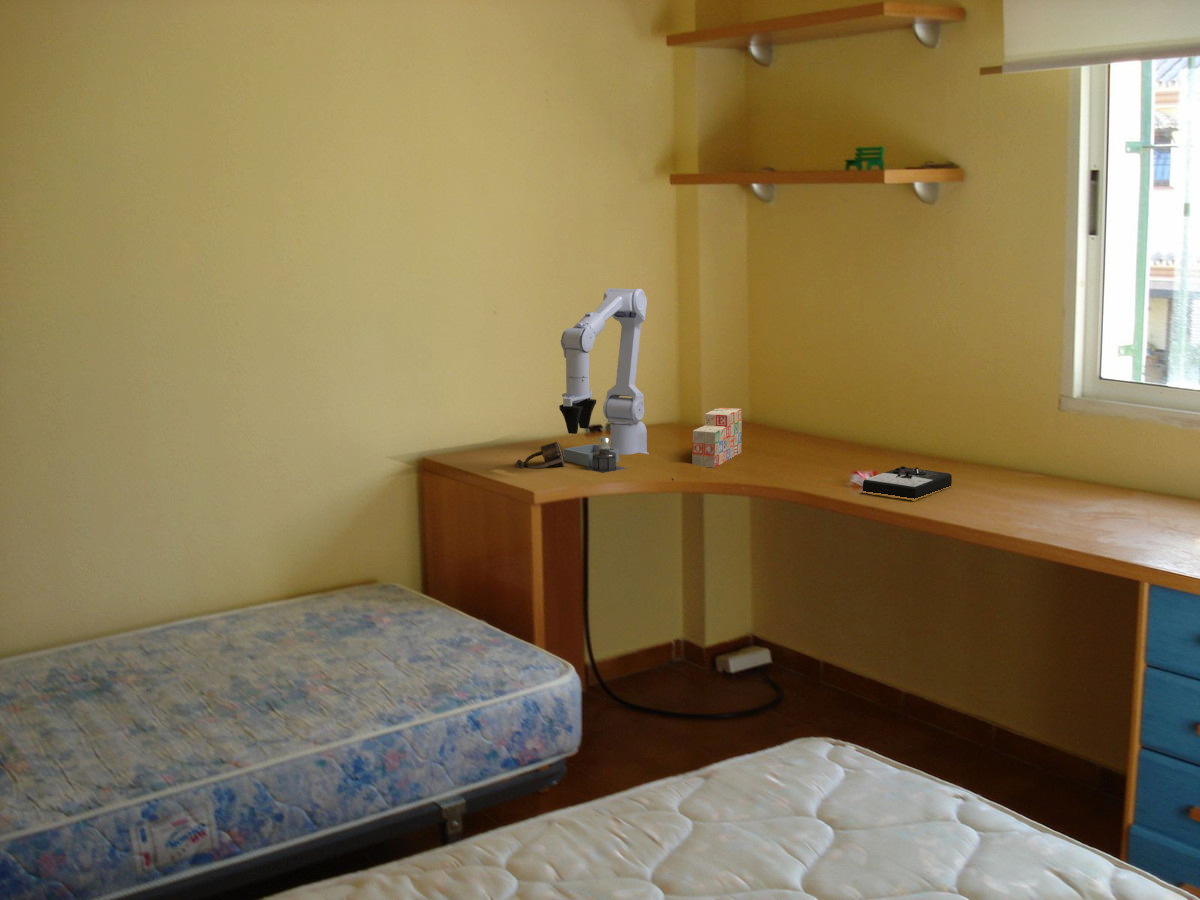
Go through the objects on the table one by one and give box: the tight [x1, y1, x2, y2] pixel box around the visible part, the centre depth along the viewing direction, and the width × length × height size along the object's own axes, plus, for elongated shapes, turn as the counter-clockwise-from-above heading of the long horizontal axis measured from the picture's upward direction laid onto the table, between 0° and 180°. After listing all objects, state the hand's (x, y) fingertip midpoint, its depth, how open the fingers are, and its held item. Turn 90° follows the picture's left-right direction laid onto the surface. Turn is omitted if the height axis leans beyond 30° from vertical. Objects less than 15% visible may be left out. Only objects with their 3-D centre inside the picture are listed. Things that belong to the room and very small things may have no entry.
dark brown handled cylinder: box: [515, 441, 566, 470], centre depth 310 cm, size 7×13×10 cm
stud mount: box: [583, 465, 628, 474], centre depth 307 cm, size 8×8×4 cm
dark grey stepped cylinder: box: [592, 436, 617, 471], centre depth 306 cm, size 6×6×8 cm
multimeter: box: [862, 465, 953, 499], centre depth 284 cm, size 13×19×5 cm
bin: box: [562, 443, 620, 467], centre depth 316 cm, size 10×10×4 cm
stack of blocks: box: [691, 407, 743, 468], centre depth 321 cm, size 21×6×12 cm, turn 155°
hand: (578, 430), depth 306 cm, fingers open, 7 cm apart
